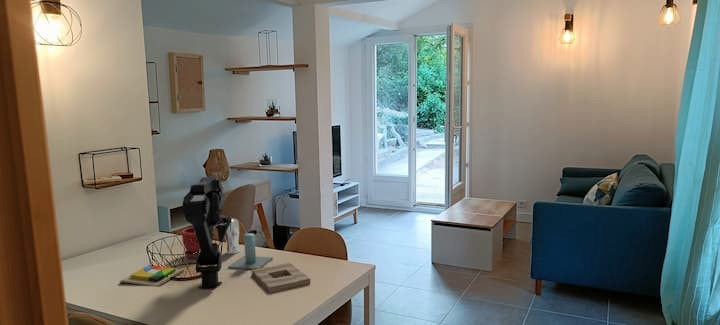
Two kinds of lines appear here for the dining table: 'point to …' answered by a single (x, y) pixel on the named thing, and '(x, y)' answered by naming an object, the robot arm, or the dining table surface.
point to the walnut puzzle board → (290, 281)
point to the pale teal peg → (249, 248)
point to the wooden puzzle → (152, 275)
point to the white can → (232, 237)
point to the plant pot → (190, 242)
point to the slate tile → (243, 265)
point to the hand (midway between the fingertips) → (215, 245)
